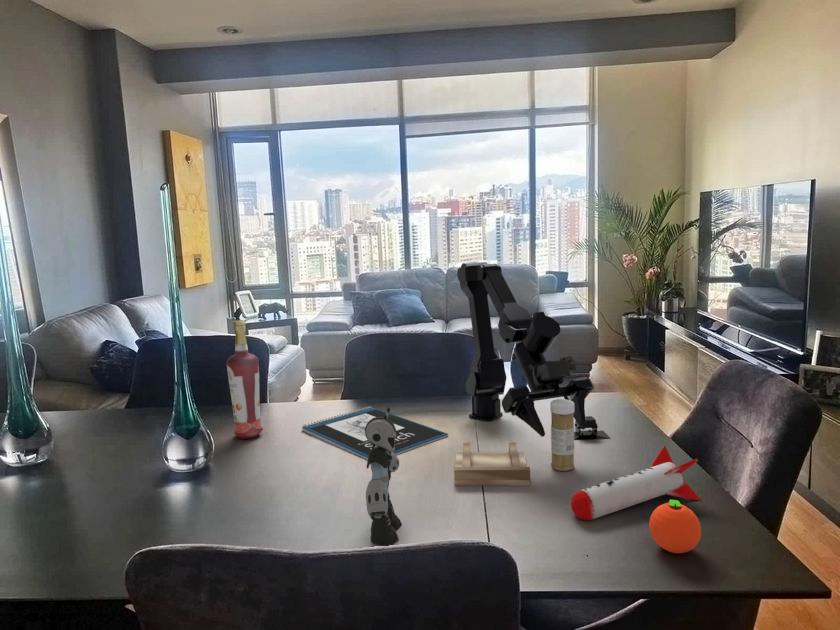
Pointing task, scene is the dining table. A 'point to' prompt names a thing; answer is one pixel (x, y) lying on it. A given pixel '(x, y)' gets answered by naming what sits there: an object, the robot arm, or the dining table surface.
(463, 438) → the dining table surface
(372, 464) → the robot
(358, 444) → the sketchbook
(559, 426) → the sprinkles bottle
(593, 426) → the black angular piece
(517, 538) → the dining table surface
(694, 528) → the clementine
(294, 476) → the dining table surface
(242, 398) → the liquor
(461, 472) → the cradle jig
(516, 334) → the robot arm
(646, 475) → the model rocket
